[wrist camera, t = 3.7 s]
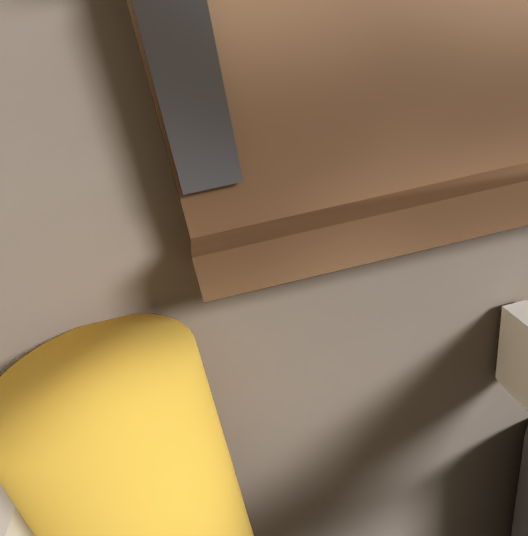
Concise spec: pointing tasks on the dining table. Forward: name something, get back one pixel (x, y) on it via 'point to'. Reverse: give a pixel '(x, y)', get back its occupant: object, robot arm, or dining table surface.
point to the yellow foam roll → (117, 435)
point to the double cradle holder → (336, 128)
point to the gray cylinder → (522, 495)
